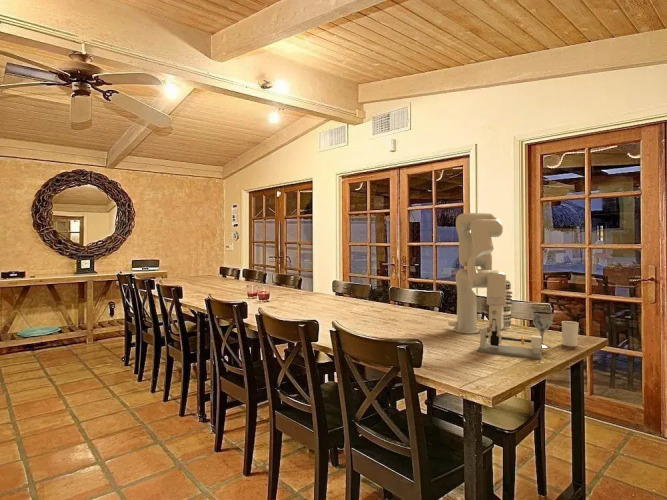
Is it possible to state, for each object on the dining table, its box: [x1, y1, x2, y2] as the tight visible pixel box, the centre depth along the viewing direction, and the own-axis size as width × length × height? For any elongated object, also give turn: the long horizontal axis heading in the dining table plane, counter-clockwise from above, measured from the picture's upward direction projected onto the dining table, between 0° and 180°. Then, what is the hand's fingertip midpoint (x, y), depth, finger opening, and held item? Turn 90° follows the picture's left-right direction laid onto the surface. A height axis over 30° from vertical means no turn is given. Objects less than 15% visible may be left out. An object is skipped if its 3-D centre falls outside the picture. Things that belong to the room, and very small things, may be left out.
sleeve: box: [487, 330, 503, 345], centre depth 184 cm, size 5×4×4 cm
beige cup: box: [561, 320, 579, 347], centre depth 194 cm, size 7×7×10 cm
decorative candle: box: [501, 279, 513, 330], centre depth 231 cm, size 9×9×25 cm
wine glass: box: [531, 310, 553, 349], centre depth 191 cm, size 8×8×15 cm
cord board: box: [477, 326, 543, 360], centre depth 182 cm, size 24×12×9 cm, turn 63°
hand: (495, 343), depth 184 cm, fingers closed on sleeve, 4 cm apart
